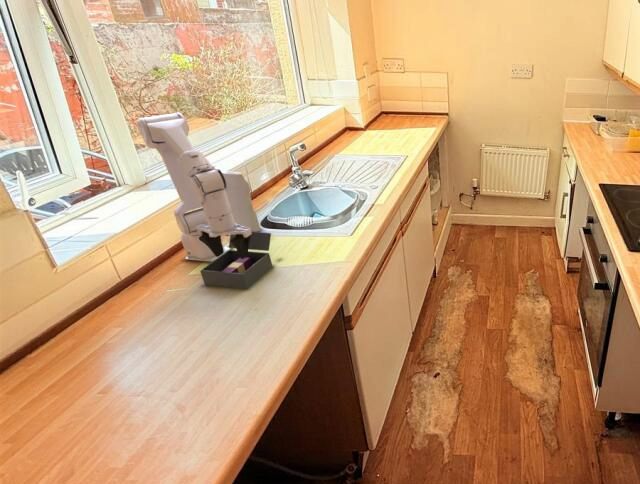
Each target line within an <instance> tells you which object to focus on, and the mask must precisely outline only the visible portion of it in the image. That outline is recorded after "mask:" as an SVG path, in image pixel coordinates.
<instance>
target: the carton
mask: <svg viewBox="0 0 640 484" xmlns="http://www.w3.org/2000/svg"><path fill="white" fill-rule="evenodd" d="M239 258H240V257H239V254H238V252H237V249H236V250H235V249H230V250H229V251H227V252H226V253H224V254H223V255H221V256H220V257H219V258H217V259H216V260H214V261H213V262H209V264H207V265H206V266H204V267H203V268H201V269H200V270H199V272H200V275H201V277H202V281H203V283H204V285H205V286H211V287H222V288H232V289H233V288H234V289H243V290H244V289H245V290H248V289H249V288H250V287H252V286H253V285H254V284H255V283H256V282H258V280H260V278H262V277H263V276H264V275H265V274H267V272H269V271H270V270H271V269H272V268H273V267H274V266H273V262H272V259H271V255H270V252H264V251H263V252H262V251H250V250H248V256H247V257H246V258H250V260H251V263H252V266H251V267H250V268H249V269H247V270H246V271H245V272H244V273H243V274H242V273H231V272H221V271H223V270H224V269H225V268H227V267H228V266H229V265H231V264H232V263H233V262H235V261H236V260H237V259H239Z"/></svg>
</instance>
